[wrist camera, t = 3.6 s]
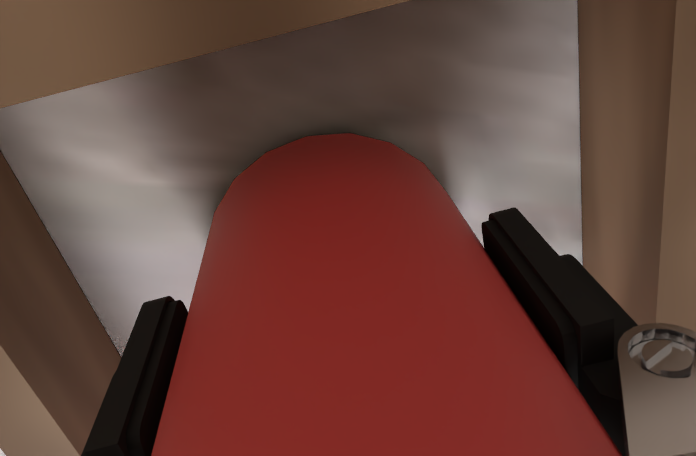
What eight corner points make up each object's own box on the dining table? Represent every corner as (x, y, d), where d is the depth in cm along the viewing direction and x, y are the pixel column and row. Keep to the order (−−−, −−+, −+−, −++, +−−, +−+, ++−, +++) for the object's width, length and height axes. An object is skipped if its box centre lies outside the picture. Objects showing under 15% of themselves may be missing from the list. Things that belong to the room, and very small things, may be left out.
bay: (646, -166, 11) (786, -211, 8) (622, 540, 23) (673, 631, 20) (-142, 43, 11) (-303, 79, 8) (244, 633, 23) (238, 737, 20)
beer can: (435, 97, 13) (1063, 716, 3) (461, 307, 16) (791, 974, 6) (175, 158, 13) (-269, 1024, 3) (251, 356, 16) (192, 1113, 6)
